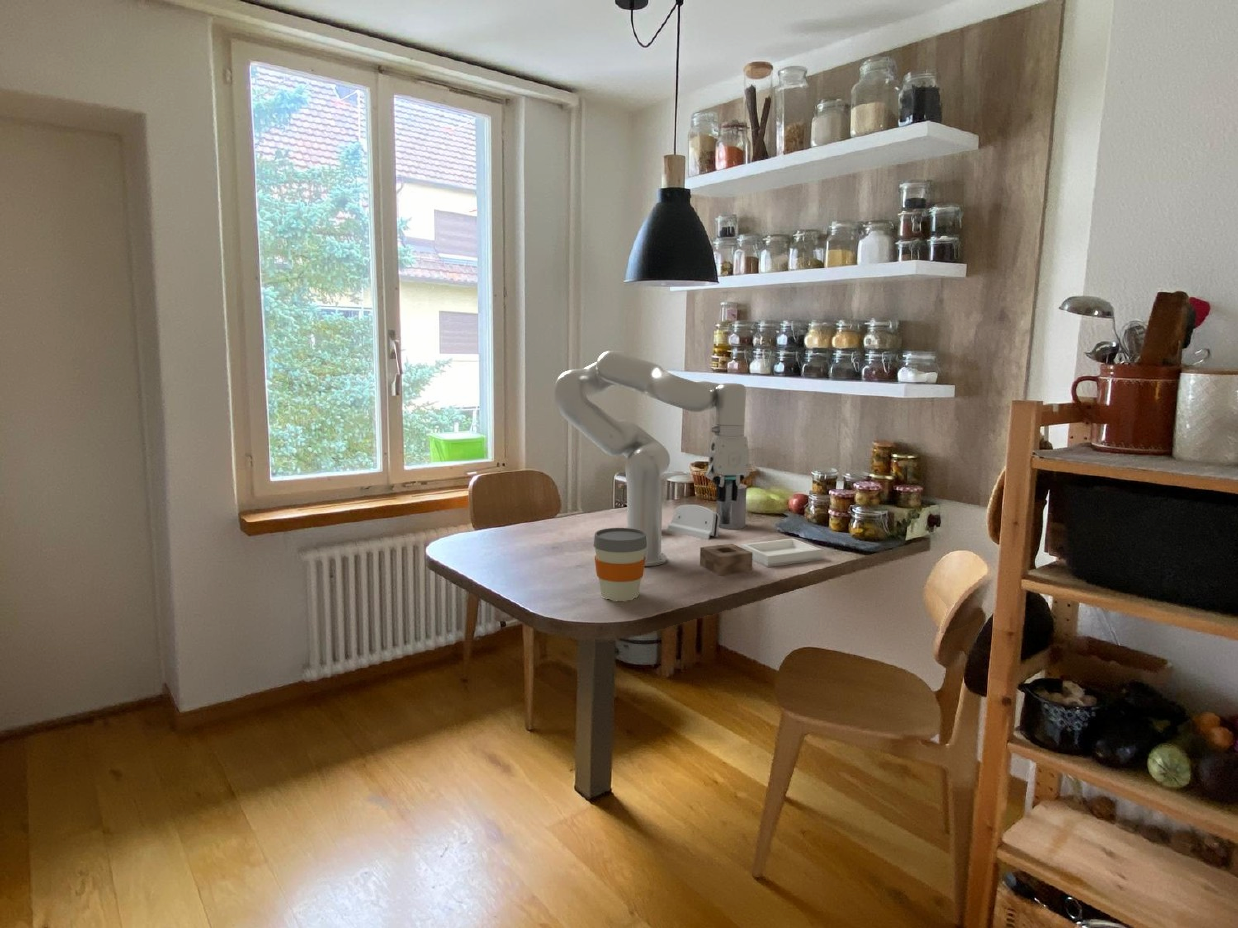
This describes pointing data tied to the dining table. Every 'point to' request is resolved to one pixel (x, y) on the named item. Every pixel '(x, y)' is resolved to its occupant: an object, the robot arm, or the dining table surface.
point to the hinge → (695, 521)
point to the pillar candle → (736, 510)
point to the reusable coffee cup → (620, 562)
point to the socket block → (726, 559)
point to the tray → (782, 552)
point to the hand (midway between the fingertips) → (726, 499)
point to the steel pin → (727, 500)
